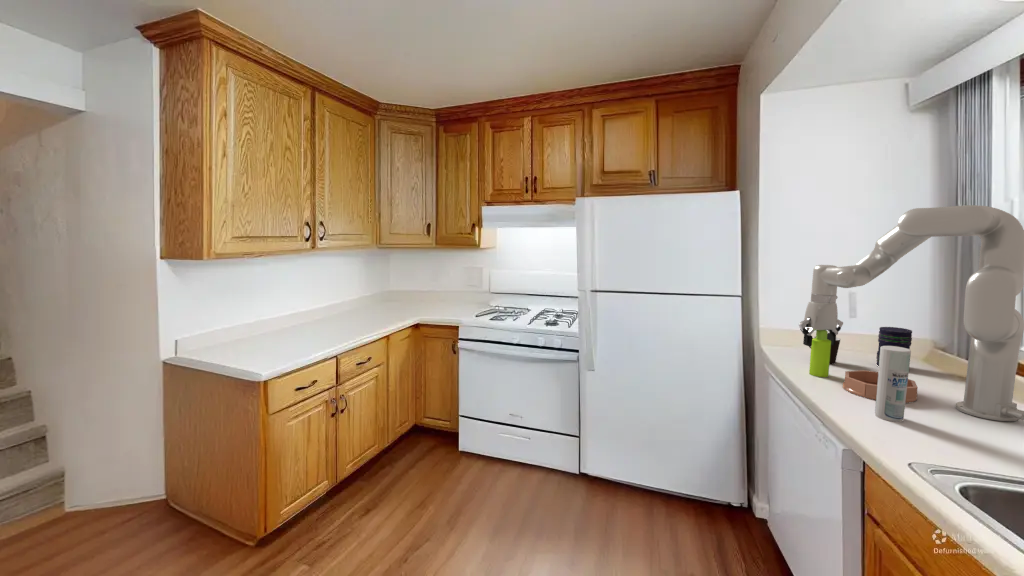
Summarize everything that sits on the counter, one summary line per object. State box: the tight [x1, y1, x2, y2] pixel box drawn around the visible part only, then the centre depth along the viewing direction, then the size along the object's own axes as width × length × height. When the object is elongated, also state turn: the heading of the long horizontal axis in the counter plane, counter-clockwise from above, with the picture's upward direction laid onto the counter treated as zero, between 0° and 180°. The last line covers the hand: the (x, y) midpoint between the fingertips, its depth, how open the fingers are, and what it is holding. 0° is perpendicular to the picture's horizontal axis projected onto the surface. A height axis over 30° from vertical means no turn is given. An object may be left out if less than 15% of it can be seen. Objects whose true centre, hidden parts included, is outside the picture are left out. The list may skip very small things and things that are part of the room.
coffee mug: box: [808, 335, 841, 365], centre depth 184 cm, size 12×9×10 cm
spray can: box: [874, 346, 912, 423], centre depth 127 cm, size 6×6×20 cm
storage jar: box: [875, 326, 913, 367], centre depth 174 cm, size 10×10×15 cm
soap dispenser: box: [808, 330, 831, 378], centre depth 166 cm, size 6×7×20 cm
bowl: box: [842, 369, 918, 404], centre depth 148 cm, size 19×19×4 cm
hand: (819, 344), depth 166 cm, fingers open, 9 cm apart
